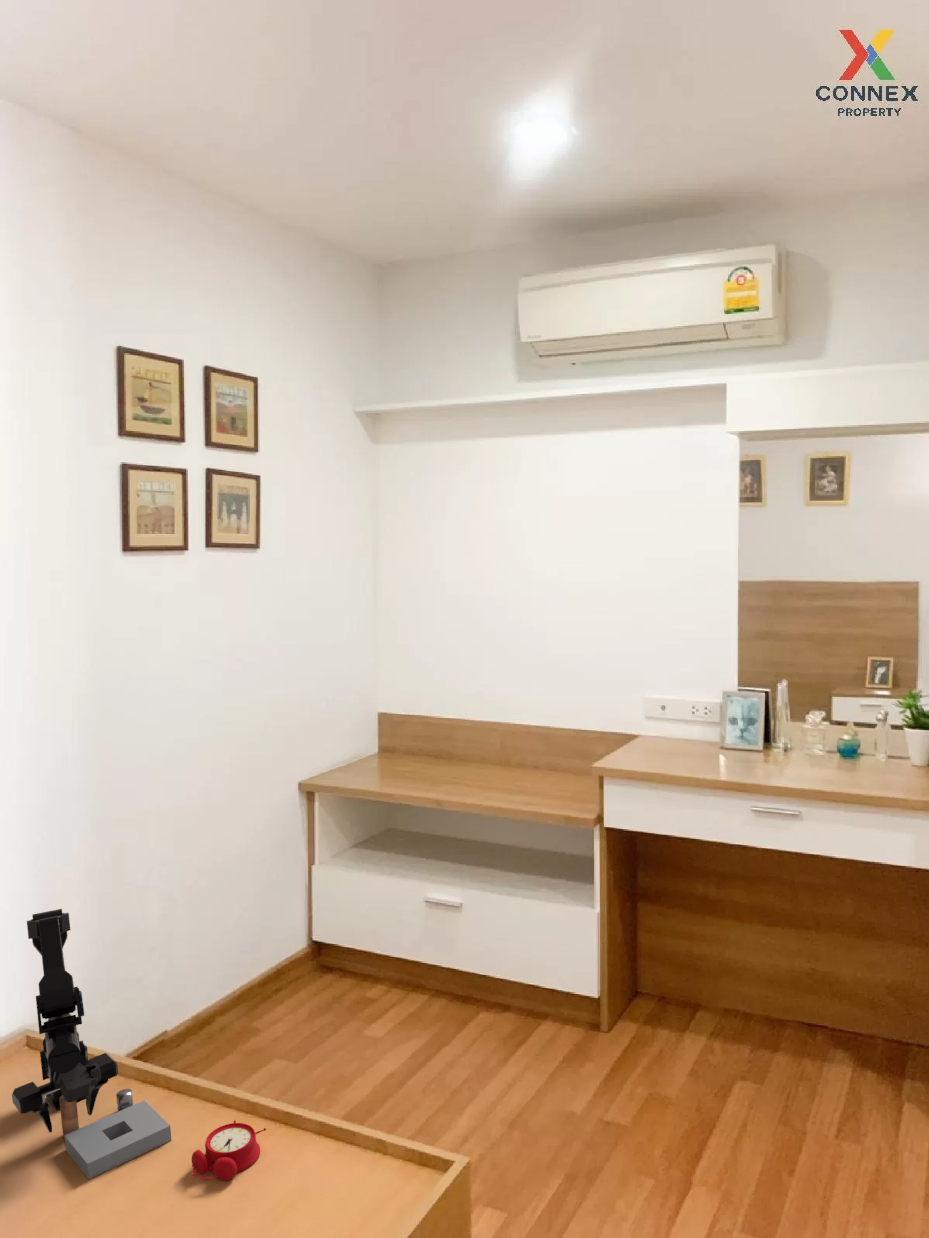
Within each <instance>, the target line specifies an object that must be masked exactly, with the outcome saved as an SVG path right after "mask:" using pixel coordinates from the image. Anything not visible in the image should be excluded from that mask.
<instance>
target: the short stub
mask: <svg viewBox="0 0 929 1238" xmlns="http://www.w3.org/2000/svg"><path fill="white" fill-rule="evenodd" d="M115 1097H116V1104H117V1105H116V1106H117V1112H119V1111H121V1110H123V1109H126V1108H128V1107H130V1106H133V1105H134V1102H133V1101H134V1099H133V1091H132V1089H130V1088H122V1089H120V1090H119V1091H117V1092H116V1094H115Z"/></svg>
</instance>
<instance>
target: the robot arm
mask: <svg viewBox="0 0 929 1238" xmlns="http://www.w3.org/2000/svg"><path fill="white" fill-rule="evenodd" d="M26 927H27V936H28V937H27V938H28V940H30V939H31V940H32V941H31V942H32V946H33V948H35V949H36V951H37V953H39V955H40V956H41V960H42V961H41V962H42V971H43V976H42V977H41V979H40V981H39V982H38V991H39V995H36V996H35V1001H36V1003H35V1004H36V1011H37V1012H36V1014H37V1024H38V1033H39V1035H43V1034H44V1038H43V1040H42V1047H43V1050H40V1051H39V1055H40V1064H41V1065H40V1067H41V1074H42V1081H45V1080H48V1079H49V1082H47V1083H44V1084H41V1085H40V1086H38V1085H36V1083H35V1082H34V1081H31V1082H28V1083H26V1084H23V1085H21V1086H17V1087H15V1088H14V1089H13V1090H12V1091H13V1092H12V1093H11V1100H12V1104H13V1105H14V1106H15V1107H16V1109H17V1110H18V1111H19V1112H20V1114H24V1115H25V1114H28V1113H30V1112H31V1113H34V1114H35V1113H38V1115H39V1116H40V1118H41V1119H42V1121H43V1123H44V1126H45V1127H46V1129H47V1131H48V1133H52V1132H53V1125H52V1121H51V1120H52V1119H51V1115H50V1111H49V1108H50V1105H49V1104H48V1102H49V1103H50V1104H51V1106H52V1107H53V1108H54V1109H55V1110H59V1109H60V1101H59V1098H60V1097H61V1096H62V1095H63V1096H64V1098H65V1100H66V1101H67V1102H73V1101H75V1100H76V1102H78V1101H80V1100H84V1099H85V1106H86V1111H87V1115H88V1116H92V1114H93V1110H94V1109H95V1104H96V1100H97V1097H98V1094H99V1091H100V1089H101V1088H102V1087H103V1086H104V1085H106V1084H107V1083H109V1080H110V1079H113V1078H114V1077H117V1076H118V1075H119V1066H118V1062H117V1061H116V1060H115V1059H114V1058H113V1057H111V1055H109V1054H108V1053H106V1052H104V1053H101V1054H98V1055H96V1056H93V1057H91V1058H89V1056H88V1055H89V1054H88V1051H89V1050H88V1046H87V1045H85V1043H84V1040H83V1039H82V1040H80V1034H79V1032H78V1030H77V1028H78V1027H77V1026H78V1025H82V1024H83V1021H82V1017H85V1009H84V1002H83V995H82V990H80V988H79V986H75V985H74V980H73V975H72V974H70V973H69V972H68V971H67V970H66V966H65V958H64V952H63V949H64V946H65V944H66V941H67V940H68V932H69V931H71V924H70V913H69V912H63V908H59V909H54V910H48V911H43V912H37V913H32V918H31V919H30V920H29V919H28V920H26ZM74 1012H77V1015H76V1014H72V1013H74ZM42 1019H44V1020H47V1021H44V1022H43V1024H42ZM46 1100H47V1101H48V1102H47V1101H46Z"/></svg>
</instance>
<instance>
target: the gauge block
mask: <svg viewBox="0 0 929 1238" xmlns="http://www.w3.org/2000/svg"><path fill="white" fill-rule="evenodd" d="M171 1130H172V1129H171V1125H170V1124H169V1123H168V1121H166V1120H165V1119H164V1118H163V1117H162V1116H161V1115H160V1114H159V1113H158V1112H157V1111H156V1110H155V1109H154V1108H153V1107H152V1105H150V1104H149V1103H148V1102H147V1101H146V1100H141V1101H139V1102H137V1103H134V1104H133V1106H130V1107H128V1108H126V1109H123V1110H121V1111H119V1112H118V1111H117V1112H114V1113H112V1114H110V1115H107V1116H105V1117H103V1118H101V1119H98V1120H96V1121H94V1122H91V1123H90V1124H86V1125H85V1126H83V1127H79V1129H78V1130H75V1131H73V1132H71V1133H68V1134H66V1135H64V1137H65V1139H64V1145H65V1151H66V1153H67V1154H69V1155H68V1156H70V1157H71V1158H72V1160H73V1161H74V1162H75V1163H76V1165H77V1166H78V1167H79V1168H80V1171H82V1173H84V1175H85V1176H86V1177H87V1179H88V1180H90V1179H92V1178H94V1177H97V1176H99V1175H101V1174H103V1173H105V1172H107V1171H110V1170H112V1169H113V1168H116V1167H117V1166H120V1165H122V1164H124V1163H127V1162H128V1161H130V1160H131V1161H132V1160H133V1159H134V1158H137V1157H139V1156H141V1155H144V1154H145V1153H148V1152H150V1151H152V1150H154V1149H157V1148H158V1147H161V1146H163V1145H164V1144H167V1143H169V1142H171V1141H172V1131H171Z"/></svg>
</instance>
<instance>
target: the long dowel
mask: <svg viewBox="0 0 929 1238" xmlns="http://www.w3.org/2000/svg"><path fill="white" fill-rule="evenodd" d="M59 1101H60V1119H61V1127H62V1128H61V1129H62V1130H61V1131H62V1138H63V1139H64V1140H65V1137H64V1135H66V1134H68V1133H71V1132H73V1131H75V1130H78V1129H80V1125H79V1114H78V1104H77V1101H76V1100H75V1101H73V1102H67V1101H66V1100H65V1098H64V1096H63V1095H62V1096H61V1097H60V1098H59Z"/></svg>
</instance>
